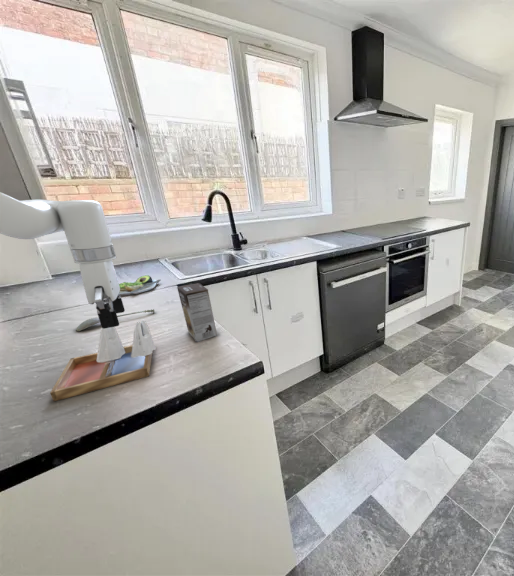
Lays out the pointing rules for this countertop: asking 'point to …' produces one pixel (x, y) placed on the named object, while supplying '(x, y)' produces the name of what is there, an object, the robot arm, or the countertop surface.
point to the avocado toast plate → (137, 286)
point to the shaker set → (114, 349)
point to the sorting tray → (99, 373)
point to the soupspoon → (96, 320)
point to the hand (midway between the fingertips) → (114, 319)
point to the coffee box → (197, 311)
